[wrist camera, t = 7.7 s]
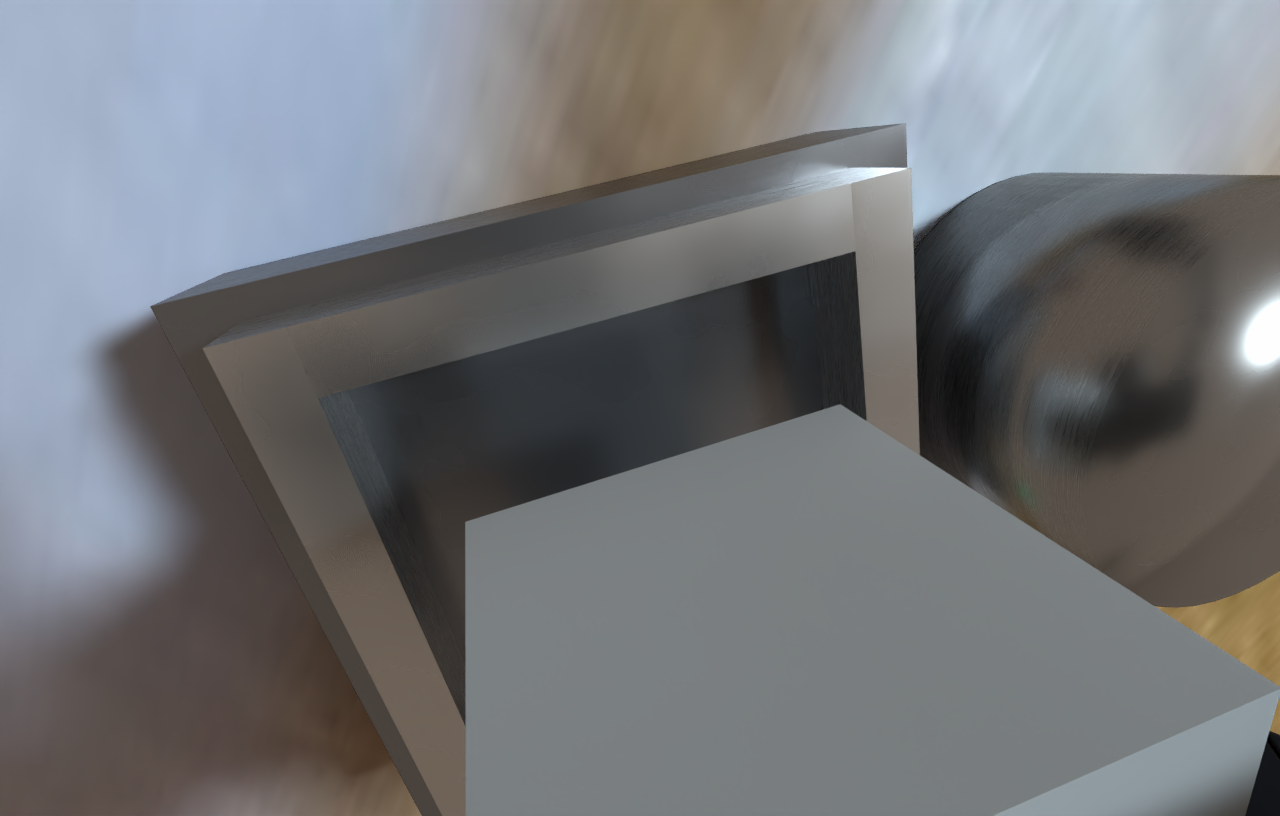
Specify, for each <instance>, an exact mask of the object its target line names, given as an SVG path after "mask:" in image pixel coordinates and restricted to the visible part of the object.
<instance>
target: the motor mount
mask: <svg viewBox="0 0 1280 816" xmlns="http://www.w3.org/2000/svg"><path fill="white" fill-rule="evenodd" d="M150 307H151V309H152V310H153V312H154V314H155V316H156V318H157V320H158V322H159V324H160V325H161V327H162V329H163V331H164V333H165V335H166V337H167V339H168V340H169V342H170V344H171V346H172V348H173V350H174V352H175V354H176V355H177V357H178V359H179V361H180V363H181V365H182V367H183V369H184V370H185V372H186V374H187V376H188V378H189V380H190V382H191V384H192V385H193V387H194V389H195V391H196V393H197V395H198V397H199V399H200V400H201V402H202V404H203V406H204V408H205V410H206V412H207V414H208V415H209V417H210V419H211V421H212V423H213V425H214V427H215V429H216V430H217V432H218V434H219V436H220V438H221V440H222V442H223V444H224V445H225V447H226V449H227V451H228V453H229V455H230V457H231V459H232V460H233V462H234V464H235V466H236V468H237V470H238V472H239V474H240V475H241V477H242V479H243V481H244V483H245V485H246V487H247V489H248V490H249V492H250V494H251V496H252V498H253V500H254V502H255V504H256V505H257V507H258V509H259V511H260V513H261V515H262V517H263V519H264V520H265V522H266V524H267V526H268V528H269V530H270V532H271V534H272V535H273V537H274V539H275V541H276V543H277V545H278V547H279V549H280V550H281V552H282V554H283V556H284V558H285V560H286V562H287V564H288V565H289V567H290V569H291V571H292V573H293V575H294V577H295V579H296V581H297V582H298V584H299V586H300V588H301V590H302V592H303V594H304V596H305V597H306V599H307V601H308V603H309V605H310V607H311V609H312V611H313V612H314V614H315V616H316V618H317V620H318V622H319V624H320V626H321V627H322V629H323V631H324V633H325V635H326V637H327V639H328V641H329V642H330V644H331V646H332V648H333V650H334V652H335V654H336V656H337V657H338V659H339V661H340V663H341V665H342V667H343V669H344V671H345V672H346V674H347V676H348V678H349V680H350V682H351V684H352V686H353V687H354V689H355V691H356V693H357V695H358V697H359V699H360V701H361V702H362V704H363V706H364V708H365V710H366V712H367V714H368V716H369V717H370V719H371V721H372V723H373V725H374V727H375V729H376V731H377V732H378V734H379V736H380V738H381V740H382V742H383V744H384V746H385V747H386V749H387V751H388V753H389V755H390V757H391V759H392V761H393V762H394V764H395V766H396V768H397V770H398V772H399V774H400V776H401V777H402V779H403V781H404V783H405V785H406V787H407V789H408V791H409V792H410V794H411V796H412V798H413V800H414V802H415V804H416V806H417V807H418V809H419V811H420V813H421V815H422V816H466V647H465V522H466V521H470V520H473V519H476V518H479V517H482V516H486V515H489V514H492V513H495V512H498V511H502V510H505V509H508V508H511V507H514V506H517V505H521V504H524V503H527V502H530V501H533V500H537V499H540V498H543V497H546V496H549V495H552V494H556V493H559V492H562V491H565V490H568V489H572V488H575V487H578V486H581V485H584V484H588V483H591V482H594V481H597V480H600V479H603V478H607V477H610V476H613V475H616V474H619V473H623V472H626V471H629V470H632V469H635V468H639V467H642V466H645V465H648V464H651V463H654V462H658V461H661V460H664V459H667V458H670V457H674V456H677V455H680V454H683V453H686V452H689V451H693V450H696V449H699V448H702V447H705V446H709V445H712V444H715V443H718V442H721V441H725V440H728V439H731V438H734V437H737V436H740V435H744V434H747V433H750V432H753V431H756V430H760V429H763V428H766V427H769V426H772V425H776V424H779V423H782V422H785V421H788V420H791V419H795V418H798V417H801V416H804V415H807V414H811V413H814V412H817V411H820V410H823V409H826V408H830V407H833V406H836V405H839V404H841V405H842V406H844V407H845V408H847V409H848V410H850V411H852V412H853V413H855V414H856V415H858V416H859V417H861V418H862V419H864V420H866V421H867V422H869V423H870V424H872V425H873V426H875V427H876V428H878V429H880V430H881V431H883V432H884V433H886V434H887V435H889V436H890V437H892V438H894V439H895V440H897V441H898V442H900V443H901V444H903V445H904V446H906V447H908V448H909V449H911V450H912V451H914V452H915V453H917V454H918V455H920V456H922V457H923V458H925V459H926V460H928V461H929V462H931V463H932V464H934V465H936V466H937V467H939V468H940V469H942V470H943V471H945V472H946V473H948V474H950V475H951V476H953V477H954V478H956V479H957V480H959V481H960V482H962V483H963V484H965V485H967V486H968V487H970V488H971V489H973V490H974V491H976V492H977V493H979V494H981V495H982V496H984V497H985V498H987V499H988V500H990V501H991V502H993V503H995V504H996V505H998V506H999V507H1001V508H1002V509H1004V510H1005V511H1007V512H1009V513H1010V514H1012V515H1013V516H1015V517H1016V518H1018V519H1019V520H1021V521H1023V522H1024V523H1026V524H1027V525H1029V526H1030V527H1032V528H1033V529H1035V530H1037V531H1038V532H1040V533H1041V534H1043V535H1044V536H1046V537H1047V538H1049V539H1051V540H1052V541H1054V542H1055V543H1057V544H1058V545H1060V546H1061V547H1063V548H1065V549H1066V550H1068V551H1069V552H1071V553H1072V554H1074V555H1075V556H1077V557H1079V558H1080V559H1082V560H1083V561H1085V562H1086V563H1088V564H1089V565H1091V566H1093V567H1094V568H1096V569H1097V570H1099V571H1100V572H1102V573H1103V574H1105V575H1107V576H1108V577H1110V578H1111V579H1113V580H1114V581H1116V582H1117V583H1119V584H1121V585H1122V586H1124V587H1125V588H1127V589H1128V590H1130V591H1131V592H1133V593H1135V594H1136V595H1138V596H1139V597H1141V598H1142V599H1144V600H1145V601H1147V602H1149V603H1150V604H1152V605H1154V606H1159V607H1175V608H1176V607H1187V606H1196V605H1201V604H1205V603H1210V602H1214V601H1217V600H1220V599H1223V598H1226V597H1229V596H1231V595H1234V594H1237V593H1239V592H1241V591H1243V590H1245V589H1247V588H1250V587H1252V586H1254V585H1256V584H1258V583H1260V582H1261V581H1263V580H1265V579H1267V578H1268V577H1270V576H1272V575H1273V574H1275V573H1277V572H1279V571H1280V175H1202V174H1121V173H1031V174H1026V175H1021V176H1015V177H1012V178H1009V179H1006V180H1004V181H1001V182H998V183H995V184H993V185H991V186H989V187H987V188H985V189H983V190H981V191H979V192H977V193H976V194H974V195H973V196H971V197H970V198H968V199H967V200H965V201H964V202H962V203H961V204H959V205H958V206H957V207H956V208H955V209H953V210H952V211H951V212H950V213H949V214H947V215H946V216H945V217H944V218H943V219H942V220H941V221H940V222H939V223H938V224H937V225H936V226H935V227H934V228H933V229H932V230H931V231H930V232H929V233H928V234H927V235H926V237H925V238H924V239H923V241H922V242H921V243H920V244H919V246H918V247H917V248H916V250H915V251H914V247H913V214H912V181H911V168H907V147H906V123H905V124H894V125H884V126H873V127H863V128H852V129H842V130H831V131H821V132H814V133H810V134H806V135H801V136H797V137H793V138H789V139H785V140H781V141H776V142H772V143H768V144H764V145H760V146H755V147H751V148H747V149H743V150H739V151H734V152H730V153H726V154H722V155H718V156H714V157H709V158H705V159H701V160H697V161H693V162H688V163H684V164H680V165H676V166H672V167H667V168H663V169H659V170H655V171H651V172H647V173H642V174H638V175H634V176H630V177H626V178H621V179H617V180H613V181H609V182H605V183H600V184H596V185H592V186H588V187H584V188H580V189H575V190H571V191H567V192H563V193H559V194H554V195H550V196H546V197H542V198H538V199H533V200H529V201H525V202H521V203H517V204H513V205H508V206H504V207H500V208H496V209H492V210H487V211H483V212H479V213H475V214H471V215H466V216H462V217H458V218H454V219H450V220H446V221H441V222H437V223H433V224H429V225H425V226H420V227H416V228H412V229H408V230H404V231H399V232H395V233H391V234H387V235H383V236H379V237H374V238H370V239H366V240H362V241H358V242H353V243H349V244H345V245H341V246H337V247H332V248H328V249H324V250H320V251H316V252H312V253H307V254H303V255H299V256H295V257H291V258H286V259H282V260H278V261H274V262H270V263H265V264H261V265H257V266H253V267H249V268H245V269H240V270H236V271H232V272H228V273H224V274H222V275H219V276H217V277H215V278H213V279H210V280H208V281H206V282H204V283H201V284H199V285H197V286H195V287H193V288H190V289H188V290H186V291H184V292H181V293H179V294H177V295H175V296H173V297H170V298H168V299H166V300H164V301H161V302H159V303H157V304H155V305H152V306H150Z"/></svg>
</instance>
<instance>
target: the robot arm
mask: <svg viewBox="0 0 1280 816" xmlns="http://www.w3.org/2000/svg"><path fill="white" fill-rule="evenodd" d="M1245 816H1280V735H1279V734H1276V733H1274V732H1271V731H1269V734H1268V738H1267V741H1266V745H1265V748H1264V752H1263V755H1262V759H1261V762H1260V766H1259V769H1258V773H1257V776H1256V780H1255V783H1254V787H1253V790H1252V794H1251V797H1250V801H1249V804H1248V808H1247V811H1246V815H1245Z"/></svg>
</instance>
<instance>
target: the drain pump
mask: <svg viewBox="0 0 1280 816" xmlns="http://www.w3.org/2000/svg"><path fill="white" fill-rule="evenodd" d="M465 647H466V816H1245V815H1246V811H1247V808H1248V804H1249V801H1250V797H1251V794H1252V790H1253V787H1254V783H1255V780H1256V776H1257V773H1258V769H1259V766H1260V762H1261V759H1262V755H1263V752H1264V748H1265V745H1266V741H1267V738H1268V734H1269V731H1270V727H1271V724H1272V720H1273V717H1274V713H1275V710H1276V706H1277V703H1278V699H1279V696H1280V687H1279V686H1278V685H1276V684H1275V683H1273V682H1271V681H1270V680H1268V679H1267V678H1265V677H1264V676H1262V675H1261V674H1259V673H1257V672H1256V671H1254V670H1253V669H1251V668H1250V667H1248V666H1247V665H1245V664H1243V663H1242V662H1240V661H1239V660H1237V659H1236V658H1234V657H1233V656H1231V655H1229V654H1228V653H1226V652H1225V651H1223V650H1222V649H1220V648H1219V647H1217V646H1215V645H1214V644H1212V643H1211V642H1209V641H1208V640H1206V639H1205V638H1203V637H1201V636H1200V635H1198V634H1197V633H1195V632H1194V631H1192V630H1191V629H1189V628H1187V627H1186V626H1184V625H1183V624H1181V623H1180V622H1178V621H1177V620H1175V619H1173V618H1172V617H1170V616H1169V615H1167V614H1166V613H1164V612H1163V611H1161V610H1159V609H1158V608H1156V607H1155V606H1153V605H1152V604H1150V603H1149V602H1147V601H1145V600H1144V599H1142V598H1141V597H1139V596H1138V595H1136V594H1135V593H1133V592H1131V591H1130V590H1128V589H1127V588H1125V587H1124V586H1122V585H1121V584H1119V583H1117V582H1116V581H1114V580H1113V579H1111V578H1110V577H1108V576H1107V575H1105V574H1103V573H1102V572H1100V571H1099V570H1097V569H1096V568H1094V567H1093V566H1091V565H1089V564H1088V563H1086V562H1085V561H1083V560H1082V559H1080V558H1079V557H1077V556H1075V555H1074V554H1072V553H1071V552H1069V551H1068V550H1066V549H1065V548H1063V547H1061V546H1060V545H1058V544H1057V543H1055V542H1054V541H1052V540H1051V539H1049V538H1047V537H1046V536H1044V535H1043V534H1041V533H1040V532H1038V531H1037V530H1035V529H1033V528H1032V527H1030V526H1029V525H1027V524H1026V523H1024V522H1023V521H1021V520H1019V519H1018V518H1016V517H1015V516H1013V515H1012V514H1010V513H1009V512H1007V511H1005V510H1004V509H1002V508H1001V507H999V506H998V505H996V504H995V503H993V502H991V501H990V500H988V499H987V498H985V497H984V496H982V495H981V494H979V493H977V492H976V491H974V490H973V489H971V488H970V487H968V486H967V485H965V484H963V483H962V482H960V481H959V480H957V479H956V478H954V477H953V476H951V475H950V474H948V473H946V472H945V471H943V470H942V469H940V468H939V467H937V466H936V465H934V464H932V463H931V462H929V461H928V460H926V459H925V458H923V457H922V456H920V455H918V454H917V453H915V452H914V451H912V450H911V449H909V448H908V447H906V446H904V445H903V444H901V443H900V442H898V441H897V440H895V439H894V438H892V437H890V436H889V435H887V434H886V433H884V432H883V431H881V430H880V429H878V428H876V427H875V426H873V425H872V424H870V423H869V422H867V421H866V420H864V419H862V418H861V417H859V416H858V415H856V414H855V413H853V412H852V411H850V410H848V409H847V408H845V407H844V406H842V405H841V404H839V405H836V406H833V407H830V408H826V409H823V410H820V411H817V412H814V413H811V414H807V415H804V416H801V417H798V418H795V419H791V420H788V421H785V422H782V423H779V424H776V425H772V426H769V427H766V428H763V429H760V430H756V431H753V432H750V433H747V434H744V435H740V436H737V437H734V438H731V439H728V440H725V441H721V442H718V443H715V444H712V445H709V446H705V447H702V448H699V449H696V450H693V451H689V452H686V453H683V454H680V455H677V456H674V457H670V458H667V459H664V460H661V461H658V462H654V463H651V464H648V465H645V466H642V467H639V468H635V469H632V470H629V471H626V472H623V473H619V474H616V475H613V476H610V477H607V478H603V479H600V480H597V481H594V482H591V483H588V484H584V485H581V486H578V487H575V488H572V489H568V490H565V491H562V492H559V493H556V494H552V495H549V496H546V497H543V498H540V499H537V500H533V501H530V502H527V503H524V504H521V505H517V506H514V507H511V508H508V509H505V510H502V511H498V512H495V513H492V514H489V515H486V516H482V517H479V518H476V519H473V520H470V521H466V522H465Z"/></svg>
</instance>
